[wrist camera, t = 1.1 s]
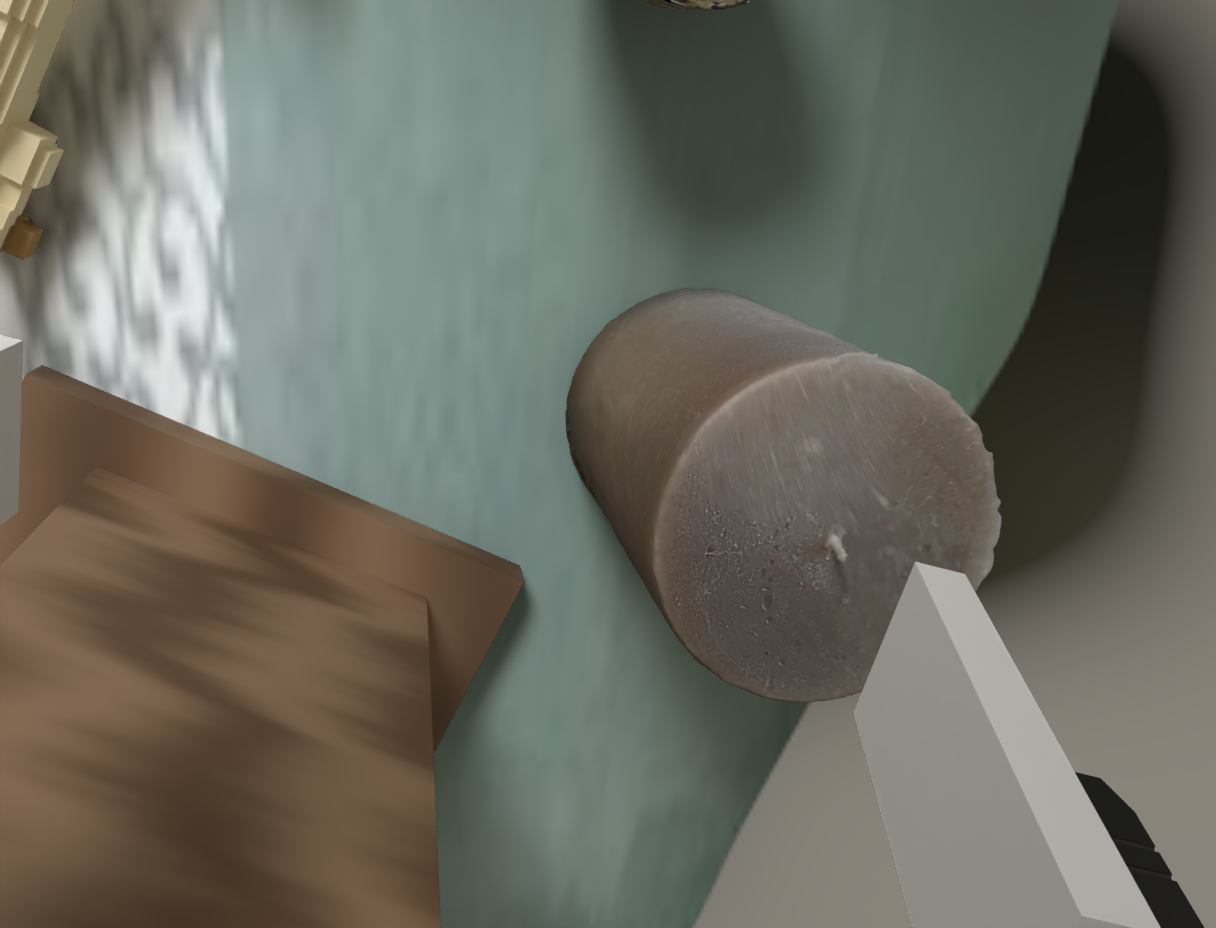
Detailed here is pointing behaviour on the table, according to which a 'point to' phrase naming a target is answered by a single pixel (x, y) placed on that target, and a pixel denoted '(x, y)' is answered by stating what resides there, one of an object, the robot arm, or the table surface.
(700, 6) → the cup
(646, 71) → the table surface
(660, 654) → the table surface
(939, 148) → the table surface
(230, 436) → the table surface
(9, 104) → the cat figure
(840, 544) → the pillar candle
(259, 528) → the shelf stand
